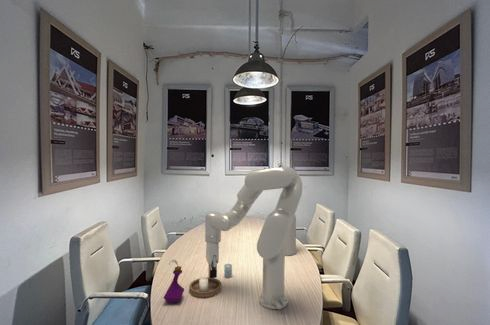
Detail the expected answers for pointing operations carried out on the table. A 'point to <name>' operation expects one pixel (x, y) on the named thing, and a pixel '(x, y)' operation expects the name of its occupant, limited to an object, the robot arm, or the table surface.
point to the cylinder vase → (291, 239)
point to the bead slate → (227, 270)
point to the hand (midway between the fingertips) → (212, 275)
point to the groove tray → (213, 288)
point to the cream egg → (203, 284)
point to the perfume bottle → (174, 287)
